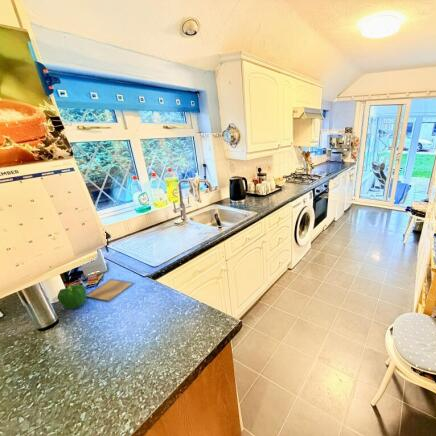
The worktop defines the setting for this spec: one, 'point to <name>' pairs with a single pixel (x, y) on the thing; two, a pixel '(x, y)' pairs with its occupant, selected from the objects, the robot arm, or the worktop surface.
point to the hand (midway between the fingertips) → (91, 255)
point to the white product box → (95, 265)
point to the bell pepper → (72, 296)
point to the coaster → (109, 290)
